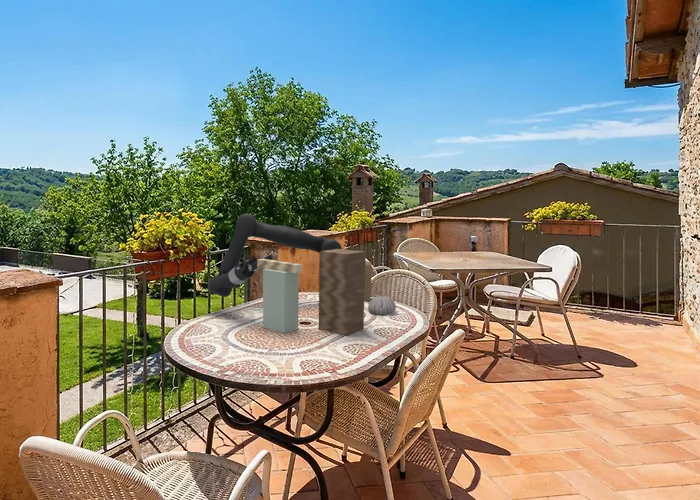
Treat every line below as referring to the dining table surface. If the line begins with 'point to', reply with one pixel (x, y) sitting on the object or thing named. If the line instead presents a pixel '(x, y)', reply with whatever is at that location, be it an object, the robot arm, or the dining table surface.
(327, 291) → the walnut pillar
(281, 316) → the sage pedestal
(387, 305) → the sea urchin shell
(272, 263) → the oak rod
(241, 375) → the dining table surface
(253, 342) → the dining table surface
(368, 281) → the wooden block
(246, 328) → the dining table surface
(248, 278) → the robot arm
